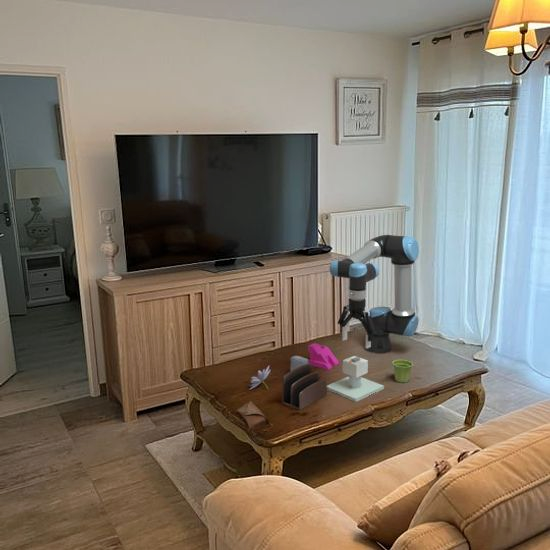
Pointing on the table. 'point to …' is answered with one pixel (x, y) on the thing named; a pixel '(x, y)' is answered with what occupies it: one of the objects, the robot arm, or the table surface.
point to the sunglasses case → (252, 415)
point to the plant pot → (402, 370)
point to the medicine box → (298, 362)
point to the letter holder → (302, 387)
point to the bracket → (321, 356)
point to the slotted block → (355, 367)
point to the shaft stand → (354, 386)
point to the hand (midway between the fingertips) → (356, 343)
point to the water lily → (260, 378)
